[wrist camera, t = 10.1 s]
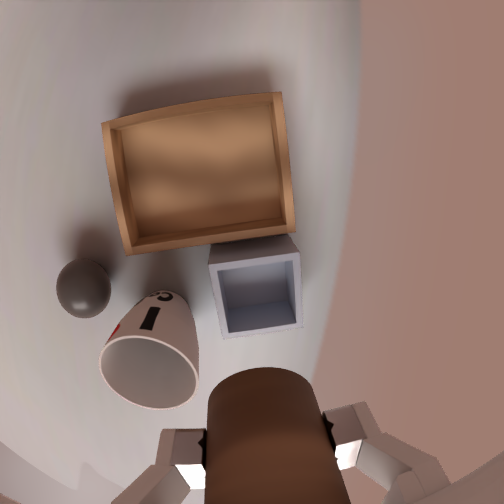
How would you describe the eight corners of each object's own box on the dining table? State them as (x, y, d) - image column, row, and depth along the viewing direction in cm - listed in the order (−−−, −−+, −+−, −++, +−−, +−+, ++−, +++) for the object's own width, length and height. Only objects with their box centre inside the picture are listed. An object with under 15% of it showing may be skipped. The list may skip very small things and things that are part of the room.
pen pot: (211, 244, 28) (208, 264, 23) (287, 234, 28) (299, 252, 23) (223, 310, 30) (223, 339, 26) (292, 300, 31) (303, 327, 26)
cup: (179, 263, 28) (158, 319, 19) (219, 326, 31) (218, 394, 22) (115, 296, 29) (79, 354, 19) (157, 352, 32) (140, 417, 22)
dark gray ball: (65, 254, 27) (38, 276, 22) (110, 246, 27) (87, 269, 22) (81, 302, 29) (59, 330, 23) (125, 298, 29) (107, 328, 24)
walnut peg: (197, 374, 9) (183, 540, 4) (314, 358, 10) (373, 514, 4) (219, 440, 11) (221, 565, 5) (313, 427, 11) (348, 547, 5)
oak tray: (115, 125, 23) (101, 123, 20) (274, 98, 24) (281, 91, 20) (137, 243, 27) (126, 256, 24) (287, 221, 28) (295, 232, 24)
